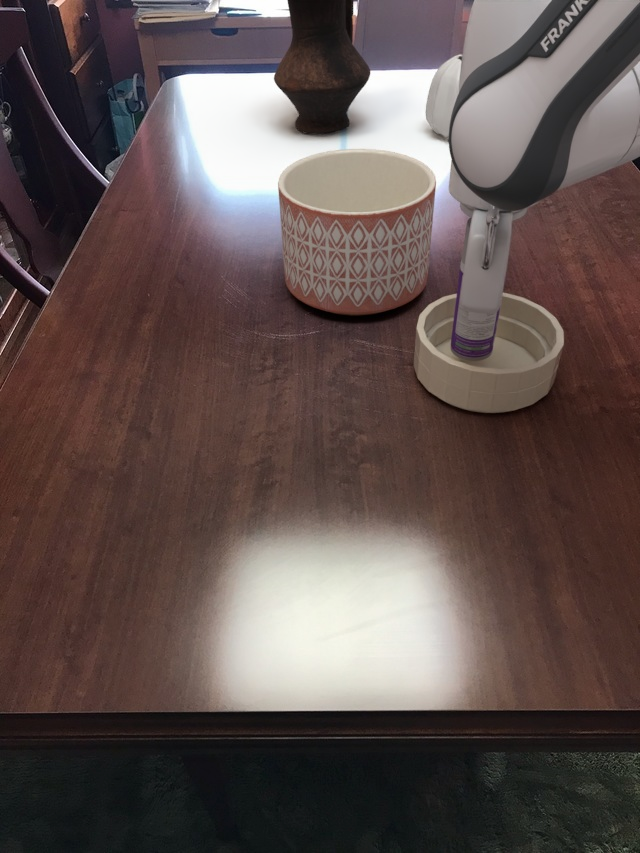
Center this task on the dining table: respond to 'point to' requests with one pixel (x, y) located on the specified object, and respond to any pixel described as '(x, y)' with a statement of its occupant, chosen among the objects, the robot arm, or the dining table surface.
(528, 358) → the bowl
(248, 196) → the dining table surface
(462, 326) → the container
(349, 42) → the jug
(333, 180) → the planter
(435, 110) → the vase
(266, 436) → the dining table surface
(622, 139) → the robot arm
